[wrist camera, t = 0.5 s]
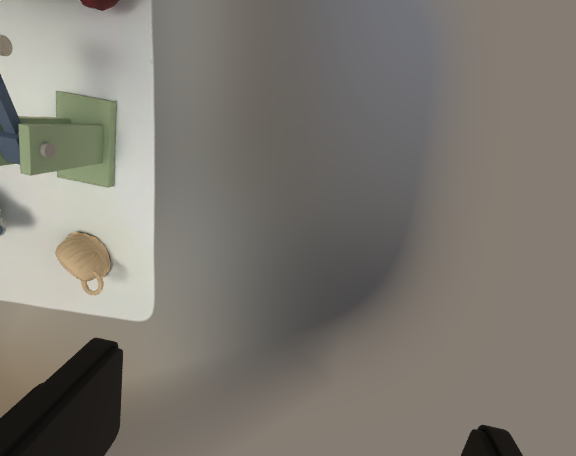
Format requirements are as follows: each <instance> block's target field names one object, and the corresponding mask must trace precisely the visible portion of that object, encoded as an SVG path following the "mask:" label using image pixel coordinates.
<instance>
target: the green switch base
mask: <svg viewBox="0 0 576 456" xmlns="http://www.w3.org/2000/svg"><path fill="white" fill-rule="evenodd" d="M18 117H19V120H20V122H21V124H18V125H19V146H20V168H21V173H22V174H27V175H35V174H41V173H47V172H53V171H57V177H60V178H65V179H69V180H74V181H79V182H84V183H89V184H94V185H99V186H104V187H111V186H114V161H115V130H116V102H113V101H108V100H103V99H98V98H92V97H87V96H82V95H77V94H71V93H66V92H59V91H56V118H55V117H20V116H18ZM1 130H3V127H2V125H1V123H0V131H1ZM9 164H16V163H11V162H6V160H5V158H4V156H3V154H2V152H1V150H0V166H1V165H9Z"/></svg>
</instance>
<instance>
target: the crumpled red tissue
mask: <svg viewBox="0 0 576 456" xmlns="http://www.w3.org/2000/svg"><path fill="white" fill-rule="evenodd" d="M80 1H81V2H82V4H83V5H85V6H87V7H91V8H96V9H98V10H101V11H103V10H106V9H108V8H111V7H113V6H114V5H115V4H116V3H117V2H118V1H119V0H80Z"/></svg>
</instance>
